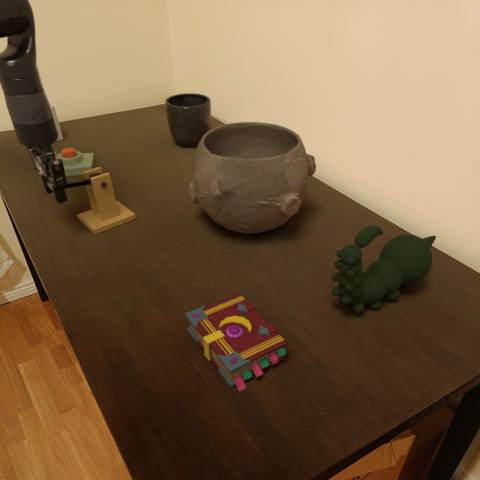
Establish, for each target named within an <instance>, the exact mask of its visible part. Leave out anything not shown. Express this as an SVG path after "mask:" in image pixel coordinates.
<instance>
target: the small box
mask: <svg viewBox="0 0 480 480" xmlns="http://www.w3.org/2000/svg"><path fill="white" fill-rule="evenodd" d="M50 108H51V111H52V115H53V118H54V122H55V126H56V129H57V133H58V139H57V140H56V141H55V142H54V143H57V142H60V141H63V140H64V136H63V132H62V129H61V126H60V122H59V119H58V115H57V111H56V109H55V106H54V105H52V104H50Z"/></svg>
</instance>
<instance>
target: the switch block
mask: <svg viewBox="0 0 480 480" xmlns="http://www.w3.org/2000/svg"><path fill="white" fill-rule="evenodd" d="M75 152H76V156H75V157H72V158H64V157H63V154H62V152H60V153H58V154H57V156H58V158H57V159H61V160H62V161H63V166H64V170H65V175H66V177H73V176H83V173H82V172H84V171H87V170H90V169H94V168H95V163H96V157H95V153H94V152H84V153H83V152H81V151H80V150H75Z"/></svg>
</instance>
